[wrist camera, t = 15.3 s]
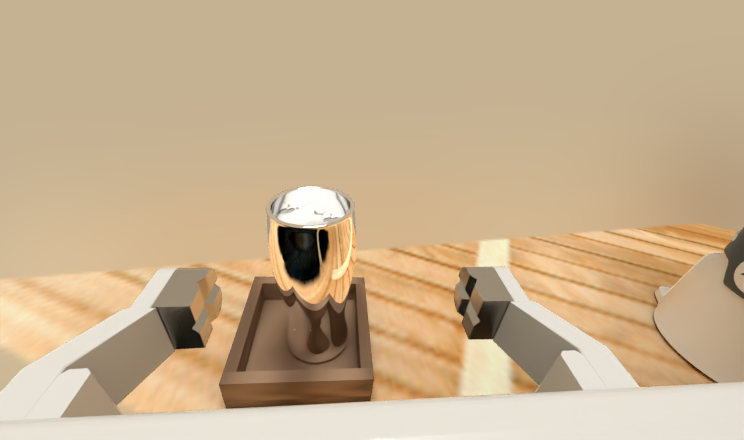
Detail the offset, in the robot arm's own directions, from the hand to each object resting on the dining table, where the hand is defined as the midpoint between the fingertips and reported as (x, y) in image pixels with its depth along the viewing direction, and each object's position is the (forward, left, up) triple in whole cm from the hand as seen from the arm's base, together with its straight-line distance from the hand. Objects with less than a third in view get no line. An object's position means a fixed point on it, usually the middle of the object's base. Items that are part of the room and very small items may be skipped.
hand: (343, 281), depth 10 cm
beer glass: (+2, -13, -20) cm, 23 cm away
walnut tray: (+3, -13, -20) cm, 24 cm away
